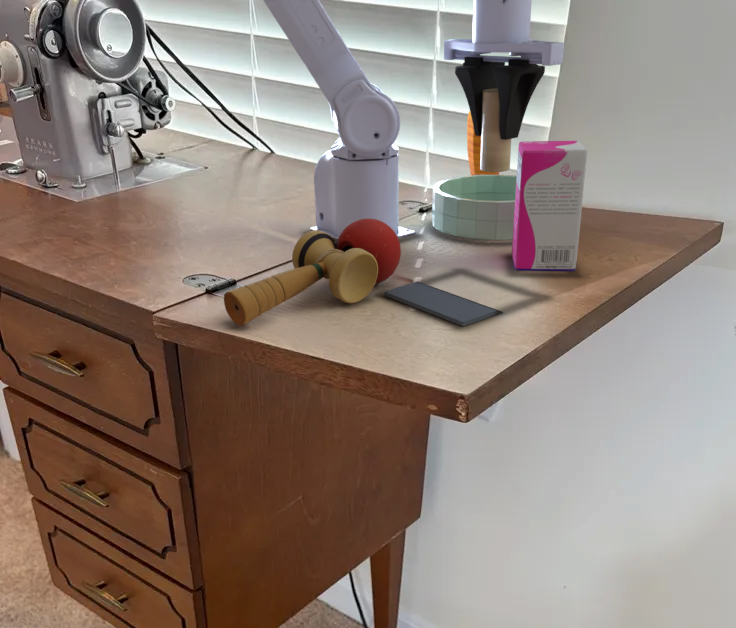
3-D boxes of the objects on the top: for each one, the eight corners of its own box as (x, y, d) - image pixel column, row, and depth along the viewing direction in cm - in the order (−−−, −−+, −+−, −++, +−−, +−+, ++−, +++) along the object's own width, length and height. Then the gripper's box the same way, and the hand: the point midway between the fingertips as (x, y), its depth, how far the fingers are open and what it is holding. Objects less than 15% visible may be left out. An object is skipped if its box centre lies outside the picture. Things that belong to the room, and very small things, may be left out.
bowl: (407, 226, 91) (408, 187, 89) (489, 206, 99) (491, 169, 97) (496, 252, 82) (499, 208, 80) (579, 228, 89) (584, 187, 87)
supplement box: (568, 257, 80) (580, 138, 74) (575, 276, 75) (589, 150, 69) (510, 256, 80) (518, 139, 75) (513, 275, 75) (522, 150, 70)
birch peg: (474, 169, 86) (476, 90, 82) (494, 164, 88) (497, 87, 84) (495, 173, 84) (499, 92, 80) (515, 168, 86) (520, 89, 82)
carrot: (501, 195, 104) (509, 71, 97) (503, 204, 100) (512, 75, 92) (463, 194, 104) (468, 71, 97) (464, 204, 100) (469, 75, 93)
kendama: (273, 354, 63) (427, 273, 72) (249, 280, 60) (412, 205, 70) (224, 343, 69) (372, 269, 78) (200, 275, 66) (356, 206, 75)
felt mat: (383, 295, 71) (383, 291, 71) (462, 271, 76) (462, 267, 76) (463, 326, 64) (463, 322, 64) (543, 298, 70) (543, 293, 69)
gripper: (588, -11, 75) (575, 138, 81) (477, -9, 85) (473, 125, 91) (540, -9, 71) (530, 148, 78) (429, -6, 81) (429, 133, 88)
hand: (496, 136), depth 84 cm, fingers closed on birch peg, 3 cm apart
